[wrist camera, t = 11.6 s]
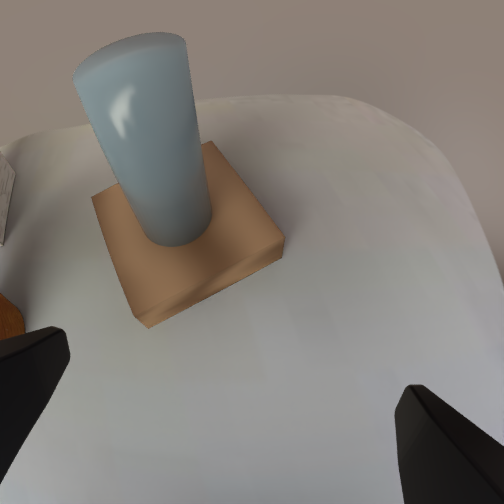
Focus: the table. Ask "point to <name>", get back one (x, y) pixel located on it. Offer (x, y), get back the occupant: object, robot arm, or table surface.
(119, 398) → the table surface
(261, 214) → the walnut base
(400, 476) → the robot arm
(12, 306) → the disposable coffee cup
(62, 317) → the table surface
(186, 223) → the slate canister
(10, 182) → the light bulb box
